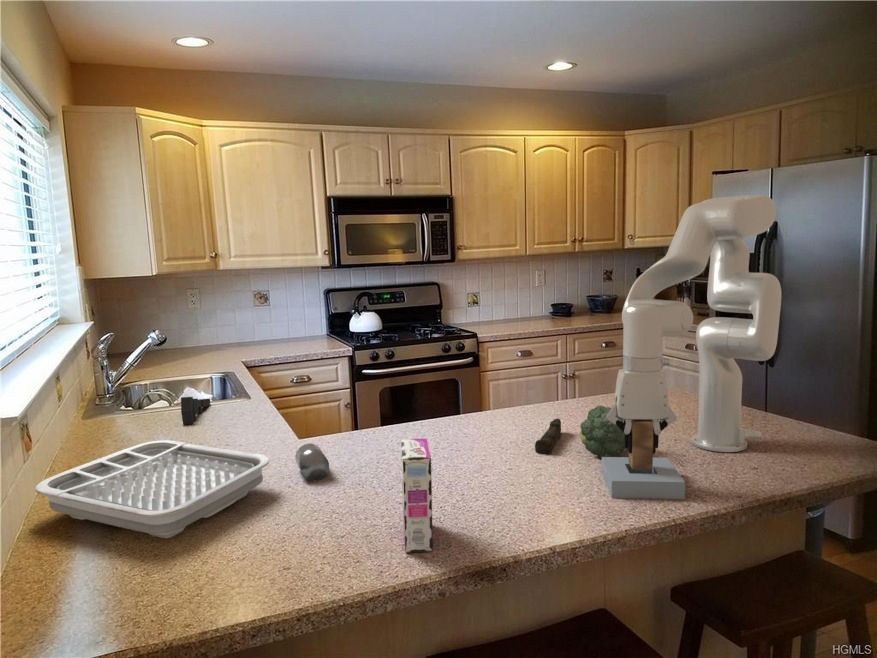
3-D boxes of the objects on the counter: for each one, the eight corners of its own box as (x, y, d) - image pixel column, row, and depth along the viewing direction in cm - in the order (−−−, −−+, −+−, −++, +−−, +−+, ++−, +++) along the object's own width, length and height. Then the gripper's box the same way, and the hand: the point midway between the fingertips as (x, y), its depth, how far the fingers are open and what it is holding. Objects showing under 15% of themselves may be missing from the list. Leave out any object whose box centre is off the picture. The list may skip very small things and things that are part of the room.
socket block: (667, 473, 134) (667, 457, 133) (684, 499, 120) (685, 482, 119) (601, 472, 135) (601, 456, 135) (611, 497, 122) (611, 480, 121)
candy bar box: (435, 552, 102) (431, 457, 100) (405, 554, 102) (401, 459, 100) (430, 522, 113) (427, 436, 111) (403, 524, 113) (399, 438, 111)
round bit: (289, 457, 141) (295, 468, 134) (309, 438, 142) (315, 448, 135) (308, 474, 143) (314, 486, 136) (327, 455, 144) (334, 465, 137)
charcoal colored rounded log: (550, 456, 147) (550, 438, 146) (534, 454, 149) (534, 436, 148) (569, 434, 164) (569, 417, 163) (554, 433, 166) (554, 416, 165)
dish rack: (165, 558, 103) (161, 513, 102) (25, 525, 118) (20, 485, 117) (283, 489, 132) (281, 453, 131) (159, 469, 147) (156, 437, 146)
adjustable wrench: (211, 419, 207) (191, 425, 182) (203, 420, 206) (181, 425, 182) (211, 395, 207) (190, 396, 183) (202, 395, 207) (180, 397, 182)
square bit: (648, 462, 129) (649, 416, 127) (652, 469, 125) (653, 421, 123) (628, 462, 129) (629, 416, 128) (632, 469, 125) (633, 421, 124)
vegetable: (614, 430, 158) (649, 419, 144) (596, 473, 152) (630, 465, 139) (576, 405, 157) (607, 391, 144) (556, 447, 152) (587, 436, 138)
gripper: (680, 361, 127) (677, 446, 129) (597, 361, 129) (596, 445, 131) (690, 367, 120) (687, 458, 122) (602, 367, 122) (601, 456, 124)
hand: (640, 450), depth 127 cm, fingers closed on square bit, 4 cm apart
